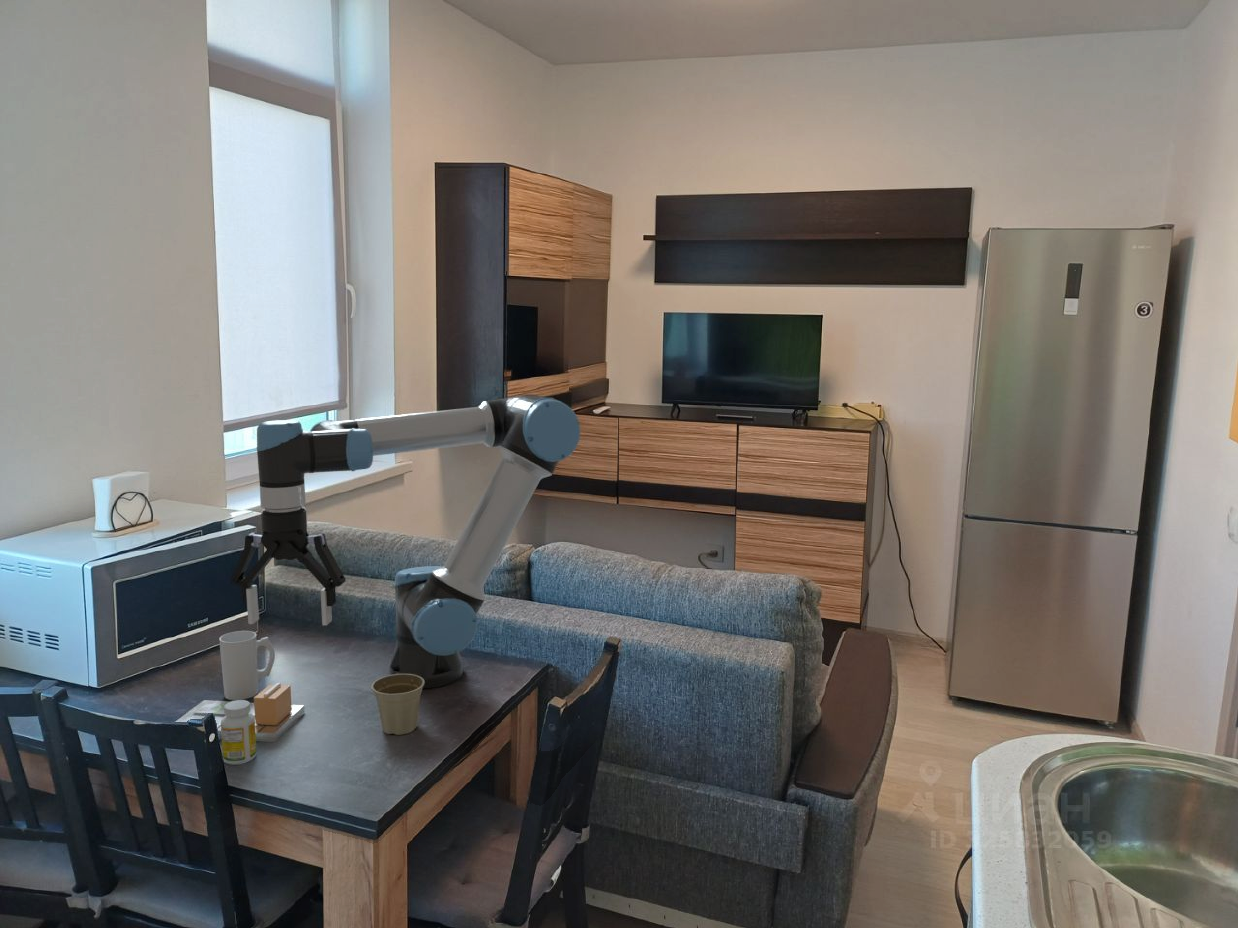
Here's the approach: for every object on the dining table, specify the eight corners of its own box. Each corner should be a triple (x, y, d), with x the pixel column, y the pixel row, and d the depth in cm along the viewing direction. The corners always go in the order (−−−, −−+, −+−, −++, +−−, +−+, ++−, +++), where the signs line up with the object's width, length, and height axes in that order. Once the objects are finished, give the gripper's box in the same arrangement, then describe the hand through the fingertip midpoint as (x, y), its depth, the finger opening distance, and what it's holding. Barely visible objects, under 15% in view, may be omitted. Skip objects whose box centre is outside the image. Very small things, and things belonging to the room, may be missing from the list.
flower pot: (399, 744, 161) (397, 698, 159) (361, 731, 166) (360, 686, 164) (436, 724, 168) (435, 680, 167) (399, 712, 173) (398, 669, 172)
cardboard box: (291, 710, 170) (290, 682, 169) (276, 724, 164) (274, 695, 163) (271, 709, 170) (269, 681, 169) (255, 723, 164) (253, 694, 163)
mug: (225, 703, 177) (221, 644, 175) (220, 691, 183) (216, 634, 181) (280, 693, 182) (276, 635, 180) (273, 681, 188) (270, 625, 186)
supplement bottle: (232, 768, 152) (229, 714, 150) (217, 758, 155) (213, 705, 154) (263, 757, 156) (259, 703, 154) (247, 747, 159) (244, 695, 158)
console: (304, 713, 173) (304, 704, 173) (274, 742, 161) (273, 733, 161) (204, 707, 175) (204, 699, 175) (167, 736, 163) (166, 727, 163)
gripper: (359, 504, 165) (364, 616, 169) (225, 502, 166) (233, 614, 170) (345, 513, 158) (350, 630, 161) (204, 511, 159) (213, 627, 162)
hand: (290, 622), depth 166 cm, fingers open, 13 cm apart
